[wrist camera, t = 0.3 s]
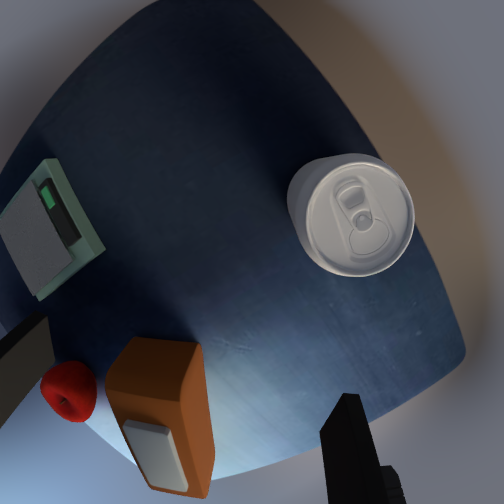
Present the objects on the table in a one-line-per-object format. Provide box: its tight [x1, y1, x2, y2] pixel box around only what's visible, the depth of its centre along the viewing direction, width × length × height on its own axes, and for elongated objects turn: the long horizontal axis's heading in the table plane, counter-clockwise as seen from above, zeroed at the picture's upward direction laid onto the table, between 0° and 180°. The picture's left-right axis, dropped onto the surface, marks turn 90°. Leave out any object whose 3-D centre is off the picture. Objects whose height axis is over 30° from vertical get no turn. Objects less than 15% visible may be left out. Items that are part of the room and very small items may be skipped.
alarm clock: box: [105, 337, 215, 499], centre depth 32 cm, size 24×8×11 cm, turn 0°
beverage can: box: [287, 153, 415, 277], centre depth 23 cm, size 8×8×12 cm
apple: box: [40, 361, 97, 422], centre depth 34 cm, size 9×9×8 cm
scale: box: [0, 159, 106, 301], centre depth 30 cm, size 13×13×4 cm
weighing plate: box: [0, 179, 75, 296], centre depth 29 cm, size 10×11×1 cm
